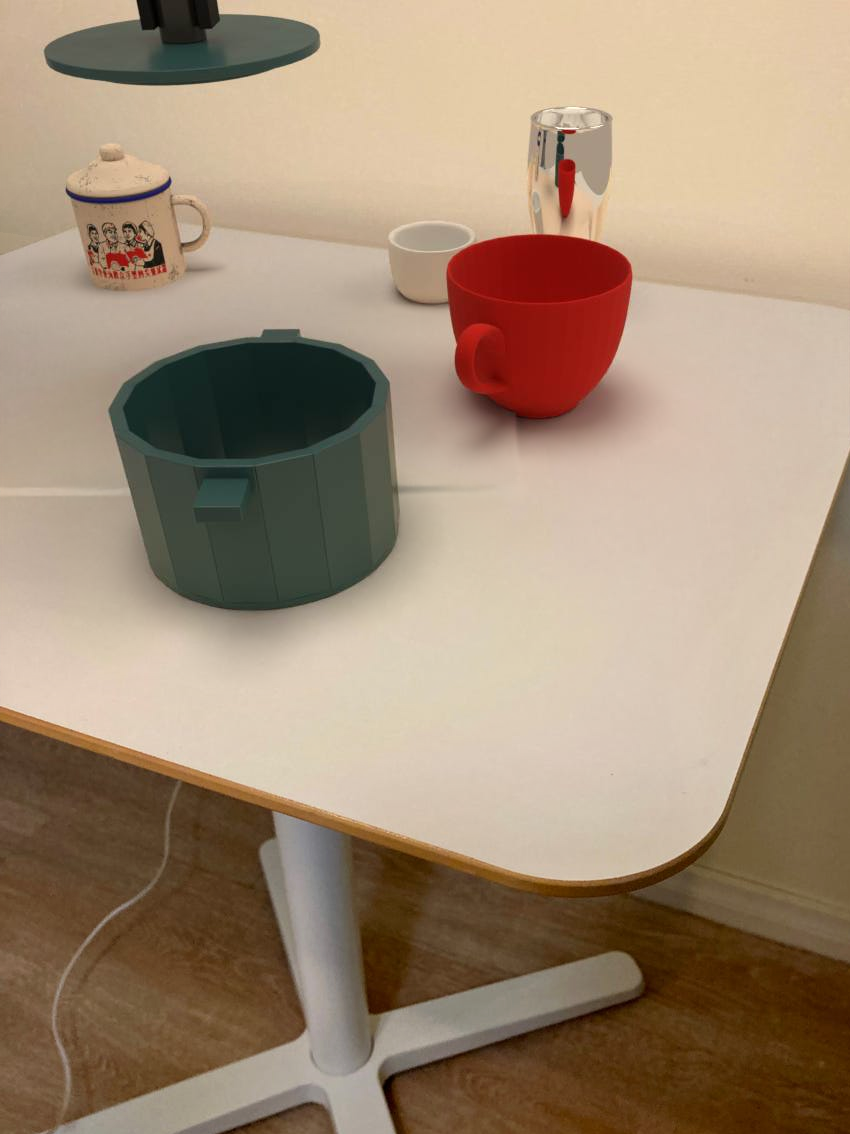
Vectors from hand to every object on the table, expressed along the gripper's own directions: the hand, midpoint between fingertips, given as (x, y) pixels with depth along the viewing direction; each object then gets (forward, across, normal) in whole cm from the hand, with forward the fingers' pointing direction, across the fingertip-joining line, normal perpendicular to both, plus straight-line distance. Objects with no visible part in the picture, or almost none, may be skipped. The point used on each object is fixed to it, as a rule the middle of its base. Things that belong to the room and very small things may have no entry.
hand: (181, 24), depth 64 cm
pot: (+25, +5, -19) cm, 32 cm away
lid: (+1, 0, 0) cm, 1 cm away
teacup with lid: (+25, -12, +23) cm, 36 cm away
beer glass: (+25, +26, +16) cm, 39 cm away
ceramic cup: (+25, +21, -4) cm, 33 cm away
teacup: (+25, +14, +18) cm, 34 cm away
